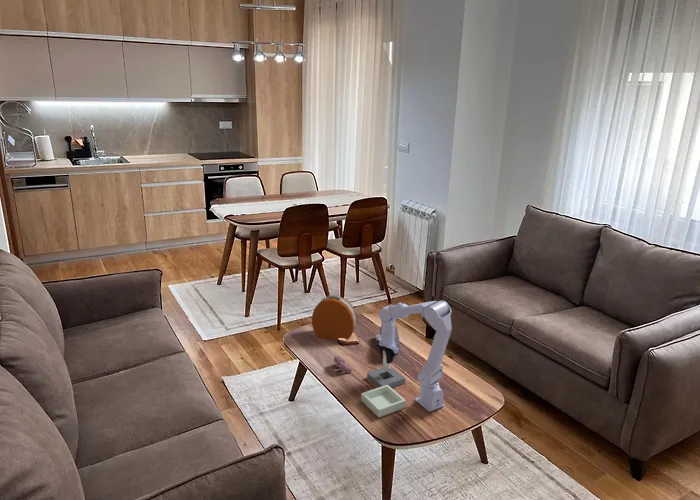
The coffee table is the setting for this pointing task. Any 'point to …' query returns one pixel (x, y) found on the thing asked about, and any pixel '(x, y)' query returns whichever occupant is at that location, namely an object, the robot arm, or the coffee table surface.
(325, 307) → the alarm clock
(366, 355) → the coffee table surface
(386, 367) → the cylinder
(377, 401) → the parts tray
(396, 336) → the bluetooth speaker
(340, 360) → the video game controller
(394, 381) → the grey square frame
